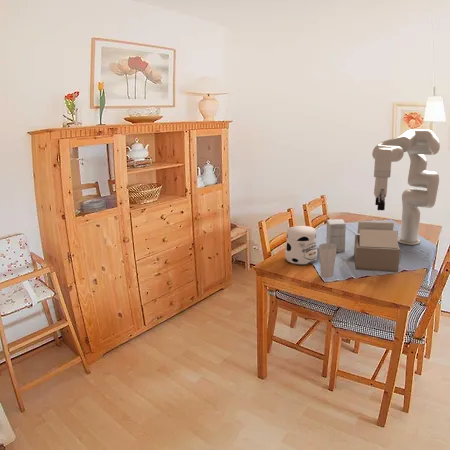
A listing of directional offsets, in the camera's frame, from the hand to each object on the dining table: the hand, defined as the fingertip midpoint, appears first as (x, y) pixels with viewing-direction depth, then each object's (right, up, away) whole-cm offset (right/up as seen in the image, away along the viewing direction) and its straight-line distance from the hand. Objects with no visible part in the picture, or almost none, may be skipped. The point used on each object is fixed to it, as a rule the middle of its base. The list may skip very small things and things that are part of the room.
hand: (379, 207), depth 195 cm
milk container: (-36, -29, +17) cm, 49 cm away
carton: (+1, -29, +9) cm, 30 cm away
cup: (-27, -34, -2) cm, 43 cm away
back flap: (+2, -11, +12) cm, 16 cm away
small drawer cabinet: (-13, -23, +31) cm, 41 cm away
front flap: (-2, -16, -3) cm, 16 cm away
